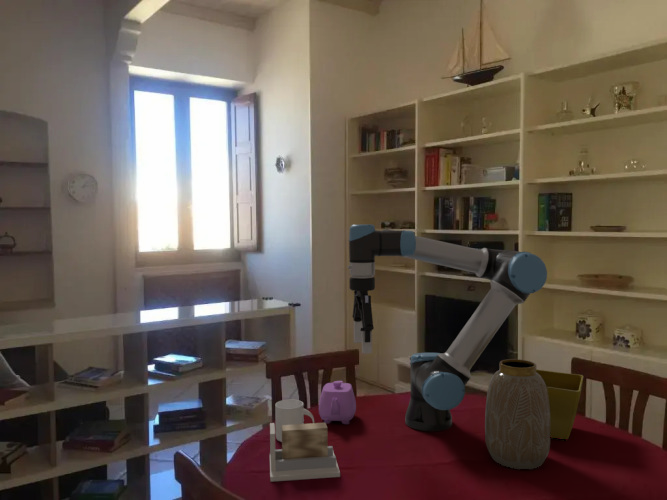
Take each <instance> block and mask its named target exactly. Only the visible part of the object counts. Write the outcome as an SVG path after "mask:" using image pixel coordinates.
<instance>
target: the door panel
mask: <svg viewBox="0 0 667 500" xmlns="http://www.w3.org/2000/svg"><path fill="white" fill-rule="evenodd" d="M328 440H329V439H328V426H327V424H326V423H323V422H314V423H313V422H312V423H304V424H293V425H282V442H281V449H282V459H298V458H313V457H328V446H329V444H328Z"/></svg>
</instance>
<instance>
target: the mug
mask: <svg viewBox="0 0 667 500" xmlns="http://www.w3.org/2000/svg"><path fill="white" fill-rule="evenodd" d="M304 406H305V404H304V402H303V401H301V400H299V399H293V398H292V399H282V400H279V401H277V402H276V403H275V406H274V407H275V408H274V409H275V410H274V411H275V412H274V413H275V416H274V417H275V439H276V440H277V441H278V442H280V443H282V425H293V424H305V423H304V421H305V419H304V416H308V417H309V418H310V419H311V421H312V423H315V417H314V415H313V413H312V412H311V411H309V410H308V409H306V408H304Z"/></svg>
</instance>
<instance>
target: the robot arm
mask: <svg viewBox="0 0 667 500" xmlns="http://www.w3.org/2000/svg"><path fill="white" fill-rule="evenodd" d="M348 237H349V238H348V246H349V247H348V250H349V252H348V253H349V255H348V258H349V261H348V262H349V265H347V269H348V270H349V275H350V277H349V283H348V284H349V289H350V290H351V291H352V292H353V305H352V307H353V309H352V316H351V317H352V318H353V343H354V344H361V353H362V354H372V353H373V347H372V346H373V339H372V337H373V335H372V333H373V332H372V331H373V330H374V329H375V328H374V321H373V310H372V309H373V308H372V296H371V295H370V294H369V291H374V290H375V288H376V278H375V277H374V276H375V275H376V262H375V261H376V259H375V258H376V257H401V258H406V259H411V260H414V261H415V260H416V261H419V262H424V263H428V264H434V265H438V266H441V267H442V266H443V267H448V268H452V269H456V270H461V271H465V272H470V273H474V274H475V275H476V277H478V278H482V279H486V280H489V283H490V289H489V290H488V292H487V294H486V295H485V296H484V298H483V299H482V300H481V302H480V303H479V305H478V306H477V307H476V309H475V310H474V312H473V314H472V315H471V317H470V318H469V319H468V320H467V322H466V323H465V325H464V326H463V327H462V329H461V330H460V331H459V333H458V334H457V336H456V338H455V339H454V340H453V341H452V343H451V344H450V346H449V347H448V349H447V350H446V351H445V352H443V353H440V352H417V353H413V354H412V355H411V356H410V362H409V365H410V399H409V404H408V406H407V408H406V412H405V416H404V421H405V422H404V423H405V425H406V426H408V427H410V428H412V429H414V430H418V431H422V432H441V431H445V430H449V429H450V428H451V427H452V426H453V416H452V413H451V410H453V409H455V408H457V407H458V406H460V404H461V403H462V402H463V399H464V398H465V394H466V388H465V387H466V385H467V384H468V382H469V381H470V379H471V372H470V371H471V369H472V367H473V366H474V365H475V363H476V362H477V360H478V359H479V358H480V356H481V354H482V353H483V352H484V351H485V349H486V348H487V346H488V345H489V343H490V342H491V341H492V339H493V338H494V336H495V334H497V332H498V331H499V329H500V328H501V326H502V325H503V324H504V322H505V321H506V319H507V318H508V317H509V315H510V314H511V312H512V311H513V310H514V309H515V306H517V305H520V304H521V305H522V304H524V303H525V302H526V301H527V300H528V297H529V296H530V295H531V294H535V293H536V292H538V291H540V290H541V289H543V287H544V286H545V284H546V282H547V278H548V270H547V267H546V264H545V262H544V261H543V260H542V258H541V257H539V256H538V255H537V254H533V253H531V252H528V251H519V250H507V249H492V248H487V247H483V248H481V249H478V248H472V247H468V246H464V245H459V244H455V243H450V242H446V241H440V240H437V239H433V238H428V237H423V236H417V235H416V234H415V232H413V230H392V229H387V228H386V229H382V230H376V227H375V225H374V224H370V223H369V224H368V223H367V224H362V223H361V224H351V225H350V226H349V235H348Z"/></svg>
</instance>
